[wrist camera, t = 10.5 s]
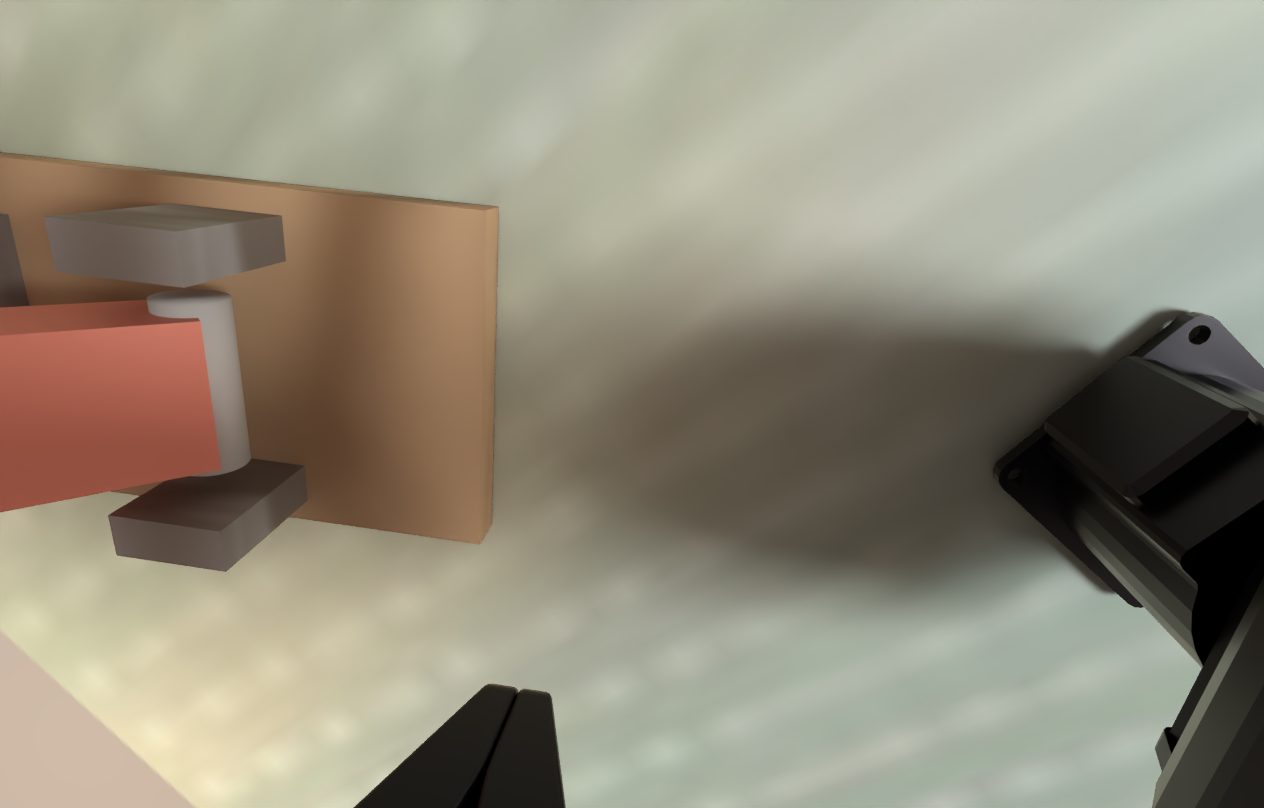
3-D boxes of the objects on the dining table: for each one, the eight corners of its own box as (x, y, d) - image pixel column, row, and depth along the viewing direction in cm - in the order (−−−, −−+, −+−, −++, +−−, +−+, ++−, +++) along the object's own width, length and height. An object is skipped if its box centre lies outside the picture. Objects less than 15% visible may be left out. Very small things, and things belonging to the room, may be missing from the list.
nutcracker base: (498, 206, 18) (427, 225, 14) (491, 524, 22) (433, 624, 17) (-172, 133, 20) (-447, 128, 15) (-74, 444, 23) (-271, 518, 19)
